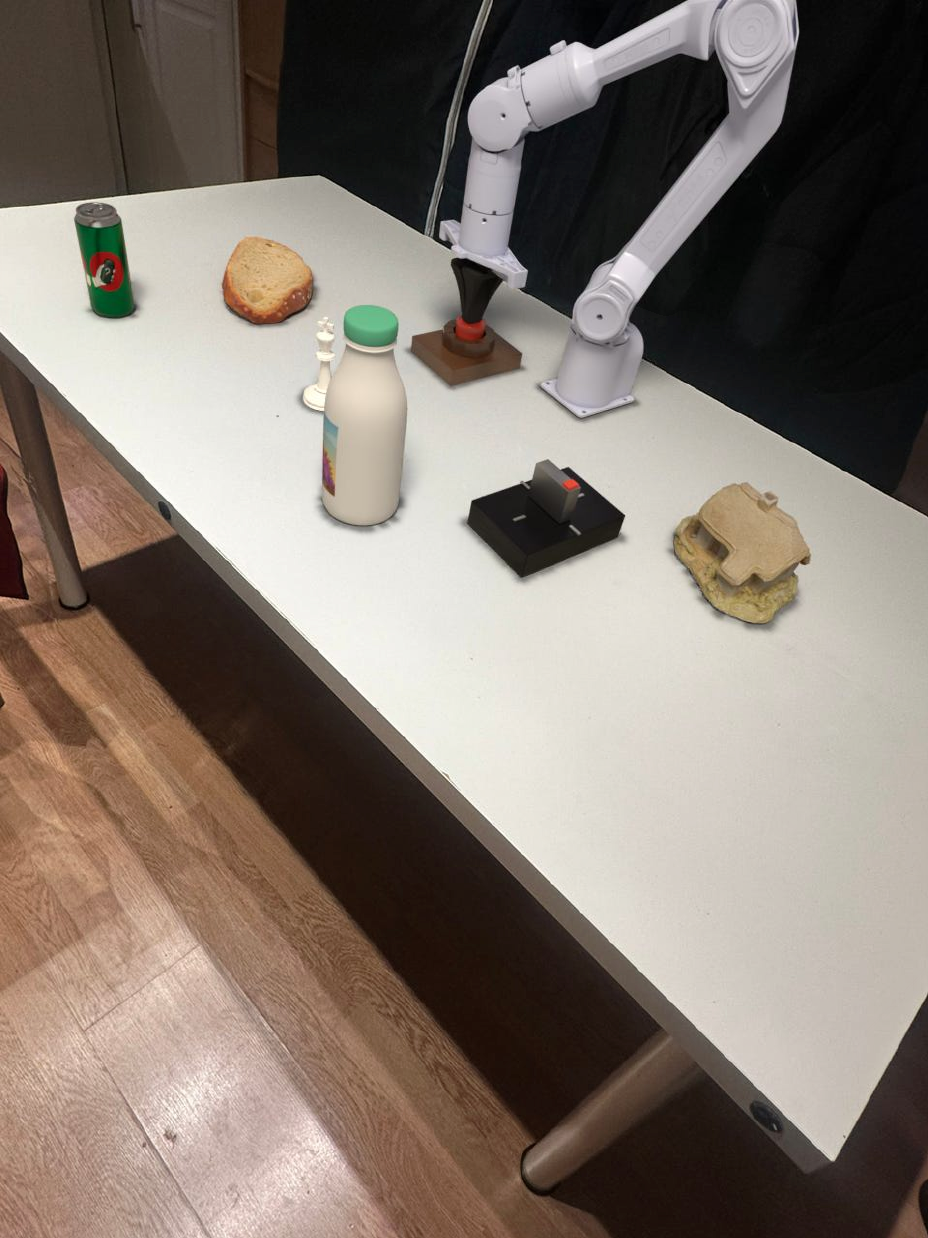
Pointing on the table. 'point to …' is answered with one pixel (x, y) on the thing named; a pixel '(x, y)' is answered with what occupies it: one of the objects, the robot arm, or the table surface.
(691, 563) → the ceramic model
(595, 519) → the panel
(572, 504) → the knob
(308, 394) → the chess piece
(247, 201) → the table surface
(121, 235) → the soda can
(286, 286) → the slice of bread
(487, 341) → the brown button base
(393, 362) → the milk bottle
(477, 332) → the button
